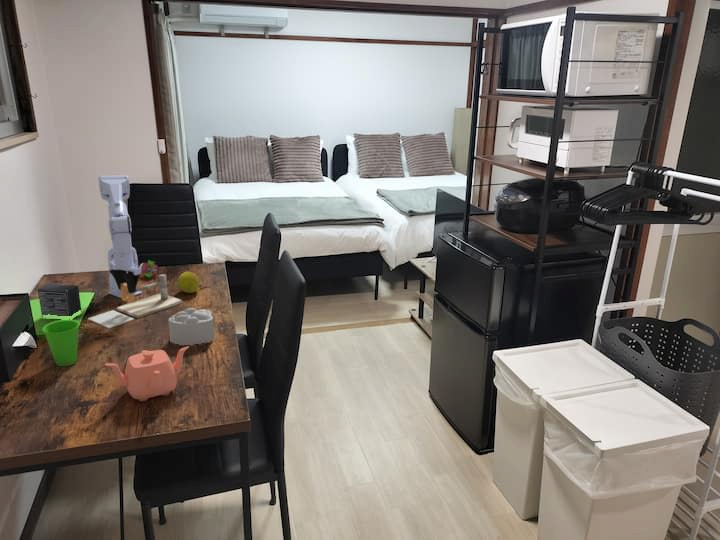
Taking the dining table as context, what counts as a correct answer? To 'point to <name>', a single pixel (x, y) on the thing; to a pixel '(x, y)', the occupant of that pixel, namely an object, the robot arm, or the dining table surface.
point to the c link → (130, 297)
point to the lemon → (188, 282)
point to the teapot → (149, 373)
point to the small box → (59, 299)
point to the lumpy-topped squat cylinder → (191, 327)
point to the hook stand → (151, 301)
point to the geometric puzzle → (149, 268)
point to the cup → (63, 340)
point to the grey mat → (111, 319)
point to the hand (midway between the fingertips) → (127, 290)
